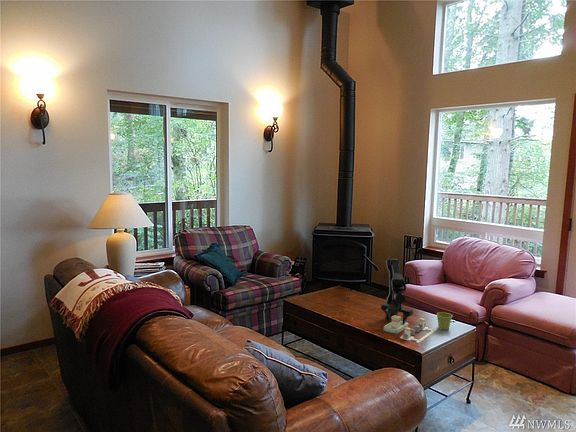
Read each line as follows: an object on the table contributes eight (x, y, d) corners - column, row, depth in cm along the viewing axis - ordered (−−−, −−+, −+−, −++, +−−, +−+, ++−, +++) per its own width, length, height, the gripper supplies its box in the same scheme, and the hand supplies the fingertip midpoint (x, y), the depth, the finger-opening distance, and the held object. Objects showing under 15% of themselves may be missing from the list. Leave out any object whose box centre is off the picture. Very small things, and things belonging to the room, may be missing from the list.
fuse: (390, 327, 252) (391, 316, 252) (394, 325, 256) (394, 315, 255) (397, 329, 250) (398, 318, 249) (400, 327, 253) (401, 316, 252)
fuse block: (399, 338, 238) (400, 328, 237) (419, 325, 258) (419, 316, 258) (418, 343, 231) (419, 333, 230) (436, 330, 251) (437, 321, 250)
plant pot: (433, 328, 254) (433, 314, 254) (439, 324, 261) (440, 311, 260) (448, 332, 248) (449, 318, 247) (454, 328, 255) (455, 314, 254)
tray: (383, 330, 249) (383, 326, 249) (395, 323, 262) (395, 319, 262) (396, 334, 244) (396, 330, 243) (408, 326, 256) (408, 322, 256)
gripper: (377, 298, 251) (376, 323, 252) (406, 304, 239) (404, 330, 240) (385, 294, 259) (384, 318, 261) (414, 300, 247) (412, 325, 249)
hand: (396, 323), depth 252 cm, fingers open, 9 cm apart
